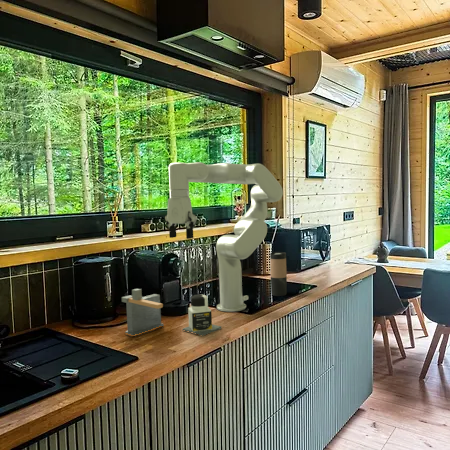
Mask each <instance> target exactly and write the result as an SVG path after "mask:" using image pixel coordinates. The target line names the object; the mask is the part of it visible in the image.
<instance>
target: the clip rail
mask: <svg viewBox="0 0 450 450" xmlns="http://www.w3.org/2000/svg"><path fill="white" fill-rule="evenodd" d="M142 299H144V300H148V301H153V302H157V303H161V295H160V294H157V293H153V294H150V295H146V296H142ZM161 309H162V308H159V309H157V308H152V307H148V306H144V305H139V304H135V303H131V302H129V303H126V324H127V330H126V331H125V333H128V334H131V335H135V334H139V333H142V332H145V331H148V330H151V329H153V328H156V327H159V326H164V323H163V322H162V314H161V313H162V310H161Z"/></svg>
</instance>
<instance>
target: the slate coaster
mask: <svg viewBox="0 0 450 450" xmlns="http://www.w3.org/2000/svg"><path fill="white" fill-rule="evenodd" d="M221 329H222V325H221V326H220V325H217V324H213V323H212V330H205V331H197V332H193V331H192V330H191V328H190V327H189V326H186V327H184V328H182V331H183V330H185V331H189V332H193V333H196V334H199V335H198V336H200V335H202V336H201V337H204V336H206V334H207V335H209V334H211V332H212V333H214V332H217V331H220V330H221ZM185 331H184V332H185ZM189 332H188V333H189ZM208 333H209V334H208ZM196 334H195V335H196ZM203 335H204V336H203Z"/></svg>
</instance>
